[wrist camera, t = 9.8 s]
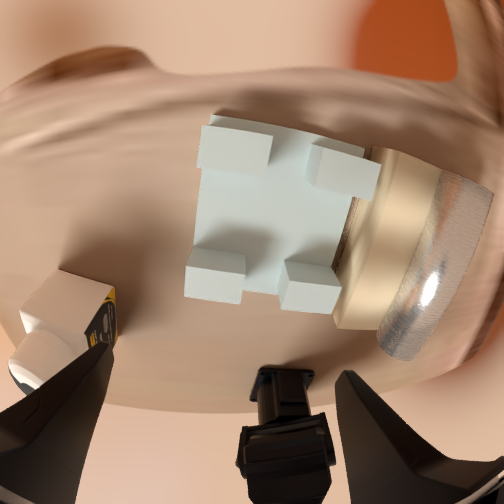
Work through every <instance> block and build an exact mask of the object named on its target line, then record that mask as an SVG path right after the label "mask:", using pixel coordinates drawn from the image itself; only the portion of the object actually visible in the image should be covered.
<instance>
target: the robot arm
mask: <svg viewBox="0 0 504 504" xmlns="http://www.w3.org/2000/svg"><path fill="white" fill-rule="evenodd" d="M113 363H114V355H113V351H112V347H111V344H110V343H109V342H105V341H99V342H98V343H96V344H95V345H94V346H92V347H91V348H90V349H88V350H87V351H85V352H84V353H83V354H81V355H80V356H79V357H77V358H76V359H75V360H74V361H72V362H71V363H70V364H68V365H67V366H66V367H64V368H63V369H62V370H60V371H59V372H58V373H56V374H55V375H54V376H52V377H51V378H50V379H48V380H47V381H46V382H45V383H43V384H42V385H41V386H39V388H37V389H35V390H34V391H33V392H31V393H30V394H29V395H27V396H26V397H25V398H23V399H22V400H20V401H18V402H17V403H15V404H14V405H12V406H10V407H9V408H7V409H6V410H4V411H2V412H0V504H75V500H76V496H77V491H78V487H79V483H80V478H81V474H82V470H83V466H84V463H85V459H86V456H87V452H88V449H89V445H90V441H91V438H92V435H93V432H94V429H95V426H96V423H97V419H98V416H99V413H100V410H101V408H102V405H103V402H104V399H105V396H106V392H107V388H108V384H109V379H110V375H111V371H112V367H113ZM314 376H315V373H314V371H312V370H286V369H269V368H261V369H259V370H258V373H257V376H256V379H255V382H254V385H253V388H252V391H251V394H250V401H252V402H258V420H259V425H257V426H249V427H248V426H243V427H242V432H241V434H240V440H239V448H238V455H237V459H236V466H237V467H238V468H239V469H240V472H241V475H242V477H243V478H244V479H247V485H248V495H249V498H250V500H251V501H252V502H253V504H322V501H323V500H324V498H325V496H326V494H327V491H328V490H329V488H330V485H331V483H332V480H331V474H330V469H329V467H330V466H334V465H336V458H335V451H334V446H333V442H332V438H331V434H330V430H329V427H328V423H327V419H326V415H325V412H322V413H320V414H317V415H313V416H312V415H311V410H310V405H309V401H308V396H307V391H306V390H307V389H308V387H309V385H310V383H311V382H312V380H313V378H314ZM335 396H336V409H337V420H338V425H339V431H340V436H341V442H342V447H343V453H344V458H345V465H346V472H347V478H348V484H349V491H350V498H351V504H504V475H503V476H502V477H500V478H498V474H499V473H500V472H502V471H503V470H504V456H500V457H499V458H498V459H496V460H495V461H490V462H482V461H466V460H456V459H451V458H449V457H447V456H445V455H444V454H442V453H441V452H440V451H438V450H437V449H436V448H434V447H433V446H432V445H431V444H429V443H428V442H427V441H426V440H424V439H423V438H422V437H421V436H420V435H418V434H417V433H416V432H415V431H414V430H413V429H412V428H411V427H410V426H409V425H408V424H406V422H405V421H404V420H403V419H402V418H401V417H399V415H398V414H397V413H396V412H395V411H393V409H392V408H391V407H390V406H389V405H388V404H387V403H386V402H384V400H383V399H382V398H381V397H380V396H379V395H378V394H377V393H376V392H375V391H374V390H373V389H372V388H371V387H370V386H369V385H368V384H367V383H366V382H365V381H364V380H363V379H362V378H361V377H360V376H359V375H358V374H357V373H356V372H354V371H353V370H344V371H342V373H341V374H340V376H339V378H338V379H337V381H336V383H335Z"/></svg>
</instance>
